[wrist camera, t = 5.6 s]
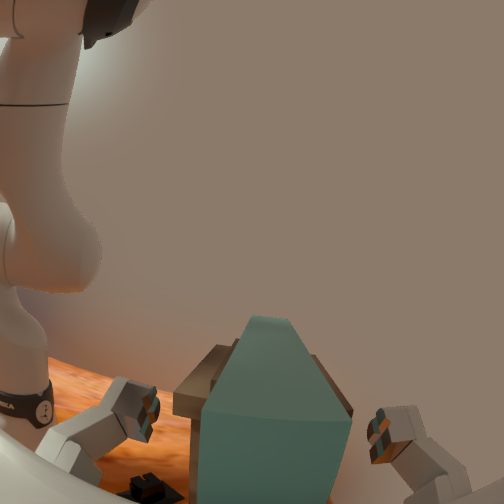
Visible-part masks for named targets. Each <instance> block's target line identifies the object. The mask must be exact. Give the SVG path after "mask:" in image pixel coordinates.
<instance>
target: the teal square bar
mask: <svg viewBox="0 0 504 504" xmlns="http://www.w3.org/2000/svg"><path fill="white" fill-rule="evenodd" d="M351 425H352V419H351V418H350V416H349V415H348V413H347V412H346V410H345V408H344V407H343V405H342V404H341V402H340V401H339V399H338V397H337V396H336V394H335V393H334V391H333V390H332V388H331V386H330V385H329V383H328V382H327V380H326V379H325V377H324V375H323V374H322V372H321V371H320V369H319V367H318V366H317V364H316V363H315V361H314V360H313V358H312V356H311V355H310V353H309V352H308V350H307V349H306V347H305V345H304V344H303V342H302V341H301V339H300V337H299V336H298V334H297V333H296V331H295V330H294V328H293V326H292V325H291V323H290V322H289V320H288V319H282V318H272V317H263V316H254V315H252V317H251V318H250V320H249V322H248V324H247V326H246V328H245V330H244V332H243V334H242V336H241V338H240V339H239V341H238V343H237V345H236V347H235V349H234V351H233V353H232V354H231V356H230V358H229V360H228V362H227V364H226V366H225V368H224V369H223V371H222V373H221V375H220V377H219V379H218V380H217V382H216V384H215V386H214V388H213V390H212V391H211V393H210V395H209V397H208V399H207V400H206V402H205V404H204V406H203V408H202V410H201V425H200V441H199V460H198V481H197V504H326V503H327V501H328V498H329V495H330V493H331V490H332V487H333V484H334V481H335V478H336V476H337V473H338V469H339V466H340V463H341V460H342V457H343V454H344V450H345V447H346V443H347V440H348V436H349V433H350V429H351Z"/></svg>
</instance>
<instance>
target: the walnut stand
mask: <svg viewBox="0 0 504 504" xmlns="http://www.w3.org/2000/svg"><path fill="white" fill-rule="evenodd" d="M238 341H239V339H236V340H235V341H234V343H233V344H232V346H223V345H216V346H215V347H214V348H213V349H212V350H211V351H210V352H209V354H208V355H207V356H206V357H205V358H204V359H203V360H202V361H201V362H200V363H199V365H198V366H197V367H196V368H195V369H194V370H193V371H192V372H191V374H190V375H189V376H188V377H187V378H186V379H185V380H184V381H183V382H182V383H181V384H180V386H179V387H178V388H177V389H176V390H175V391H174V392H173V415H177V416H181V417H186V418H191V437H190V464H189V504H197V481H198V460H199V441H200V425H201V410H202V408H203V406H204V404H205V402H206V400H207V399H208V397H209V395H210V393H211V391H212V390H213V388H214V386H215V384H216V382H217V380H218V379H219V377H220V375H221V373H222V371H223V369H224V368H225V366H226V364H227V362H228V360H229V358H230V356H231V354H232V353H233V351H234V349H235V347H236V345H237V343H238ZM311 356H312V358H313V360H314V361H315V363H316V364H317V366H318V367H319V369H320V371H321V372H322V374H323V375H324V377H325V379H326V380H327V382H328V383H329V385H330V386H331V388H332V390H333V391H334V393H335V394H336V396H337V397H338V399H339V401H340V402H341V404H342V405H343V407H344V408H345V410H346V412H347V413H348V415H349V416H350V418H351V419H352V415H353V408H352V407H351V405H350V404H349V403H348V401H347V400H346V398H345V397H344V395H343V394H342V393H341V392H340V390H339V388H338V387H337V386H336V384H335V383H334V381H333V380H332V378H331V377H330V375H329V374H328V373H327V371H326V370H325V369H324V367H323V365H322V364H321V363H320V361H319V360H318V358H317V357H316V355H311Z"/></svg>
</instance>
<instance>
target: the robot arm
mask: <svg viewBox="0 0 504 504" xmlns="http://www.w3.org/2000/svg"><path fill="white" fill-rule="evenodd" d="M151 1H152V0H0V37H7V38H9V39H8V41H7V43H6V45H5V47H4V49H3V51H2V54H1V56H0V193H1V195H2V196H3V197H4V199H5V201H6V203H2V202H0V504H139V503H136V502H133V501H131V500H128V499H125V498H122V497H120V496H117V495H115V494H112V493H110V492H108V491H105V490H103V489H101V488H98V486H99V483H100V481H101V478H102V476H103V472H102V470H101V469H100V468H99V467H98V466H97V465H96V464H95V463H94V462H95V461H97V460H98V459H100V458H101V457H103V456H104V455H105V454H107V453H108V452H110V451H111V450H113V449H114V448H115V447H117V446H118V445H119V444H121V443H122V442H124V441H125V440H126V439H127V438H130V439H134V440H137V441H141V442H144V443H148V442H149V439H150V437H151V434H152V432H153V429H152V426H151V424H153V423H154V422H156V421H157V419H158V416H159V412H160V401H159V399H158V398H157V397H156V394H157V390H156V387H155V386H150V385H147V384H143V383H140V382H136V381H133V380H130V379H127V378H123V377H120V376H117V377H116V378H115V379H114V380H113V382H112V384H111V385H110V387H109V389H108V391H107V392H106V394H105V396H104V397H103V399H102V401H101V403H100V404H99V406H93V407H91V408H89V409H87V410H85V411H83V412H81V413H79V414H77V415H75V416H73V417H71V418H69V419H67V420H65V421H63V422H61V423H59V424H58V421H57V417H56V413H55V409H54V397H53V388H52V383H51V381H50V379H49V372H48V351H47V338H46V334H45V332H44V330H43V328H42V327H41V325H40V324H39V322H38V321H37V320H36V319H35V318H34V317H32V316H31V315H30V314H29V313H28V312H26V311H25V309H24V308H23V307H22V305H21V304H20V302H19V299H18V297H17V293H16V286H18V287H22V288H27V289H33V290H37V291H42V292H48V293H75V292H83V291H84V290H85V289H87V288H88V287H89V286H90V285H91V283H92V282H93V281H94V279H95V277H96V276H97V273H98V271H99V268H100V264H101V259H102V248H101V242H100V239H99V235H98V233H97V231H96V229H95V227H94V226H93V224H92V223H91V222H90V221H88V220H87V219H86V218H85V217H84V216H83V215H82V214H81V212H80V211H79V210H78V209H77V207H76V206H75V205H74V203H73V201H72V199H71V197H70V195H69V193H68V191H67V188H66V185H65V182H64V178H63V174H62V167H61V152H62V141H63V133H64V126H65V121H66V116H67V111H68V106H69V101H70V98H71V93H72V89H73V85H74V80H75V76H76V70H77V66H78V61H79V55H80V50H81V43H82V37H83V36H84V49H85V50H86V49H90V48H92V47H93V45H94V44H95V43H96V41H97V40H100V39H104V38H108V37H111V36H113V35H115V34H117V33H118V32H120V31H122V30H123V29H125V28H127V27H128V26H130V25H131V24H132V22H133V20H134V19H135V18H136V17H137V16H139V15H140V14H141V13H142V12H143V11H144V10H145V9H146V7H147V6H148V5H149V4H150V2H151ZM367 439H368V442H369V443H370V444H371V445H372V447H371V449H370V450H369V451H370V458H371V464H382V463H391V465H392V466H393V467H394V468H395V469H396V471H397V472H398V473H399V474H400V475H401V477H402V478H403V479H404V480H405V482H406V483H407V484H408V485H409V487H410V488H411V489H412V490H413V491H414V494H413V495H411V496H409V497H408V498H406V499H405V501H404V504H504V478H502V479H500V480H498V481H496V482H494V483H492V484H490V485H488V486H486V487H484V488H482V489H479V490H477V491H475V492H473V493H472V490H471V486H470V482H469V478H468V475H467V472H466V468H465V467H464V466H463V465H462V464H461V463H460V462H459V461H457V460H456V459H455V458H454V457H453V456H451V455H450V454H449V453H448V452H447V451H445V450H444V449H443V448H442V447H441V446H440V445H439V444H438V443H437V442H435V441H434V440H433V439H432V438H430V437H429V438H427V435H426V431H425V428H424V425H423V422H422V419H421V416H420V413H419V411H418V408H417V406H415V405H411V406H397V407H387V408H380V409H378V411H377V412H376V417H375V418H374V419H372V420H371V422H370V423H369V425H368V429H367Z"/></svg>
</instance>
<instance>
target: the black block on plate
mask: <svg viewBox="0 0 504 504" xmlns="http://www.w3.org/2000/svg"><path fill="white" fill-rule="evenodd" d="M143 478H144V479H146V480H145V481H144V480H143V479H142V478H141V477H140V476H137V477H133V478H130V479H131V483H129V485H130V487H129V488H130V490H128V491H125V492H121V493H117V494H115V495H117V496H120V497H122V498H125V499H128V500H131V501H133V502H136V503H139V504H173V503H176V502H178V501H180V500H183V499H185V498H184V497H183V496H182V495H180V494H179V493H178V492H176V491H175V490H174V489H172V488H171V487H170V486H169V485H167V484H166V483H165V482H164V481H162V480H161V481H160V480H159V479H158V478H157V477H156V476H155V475H153V474H152V473H151V472H150V473H147V474H144V475H143Z"/></svg>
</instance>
